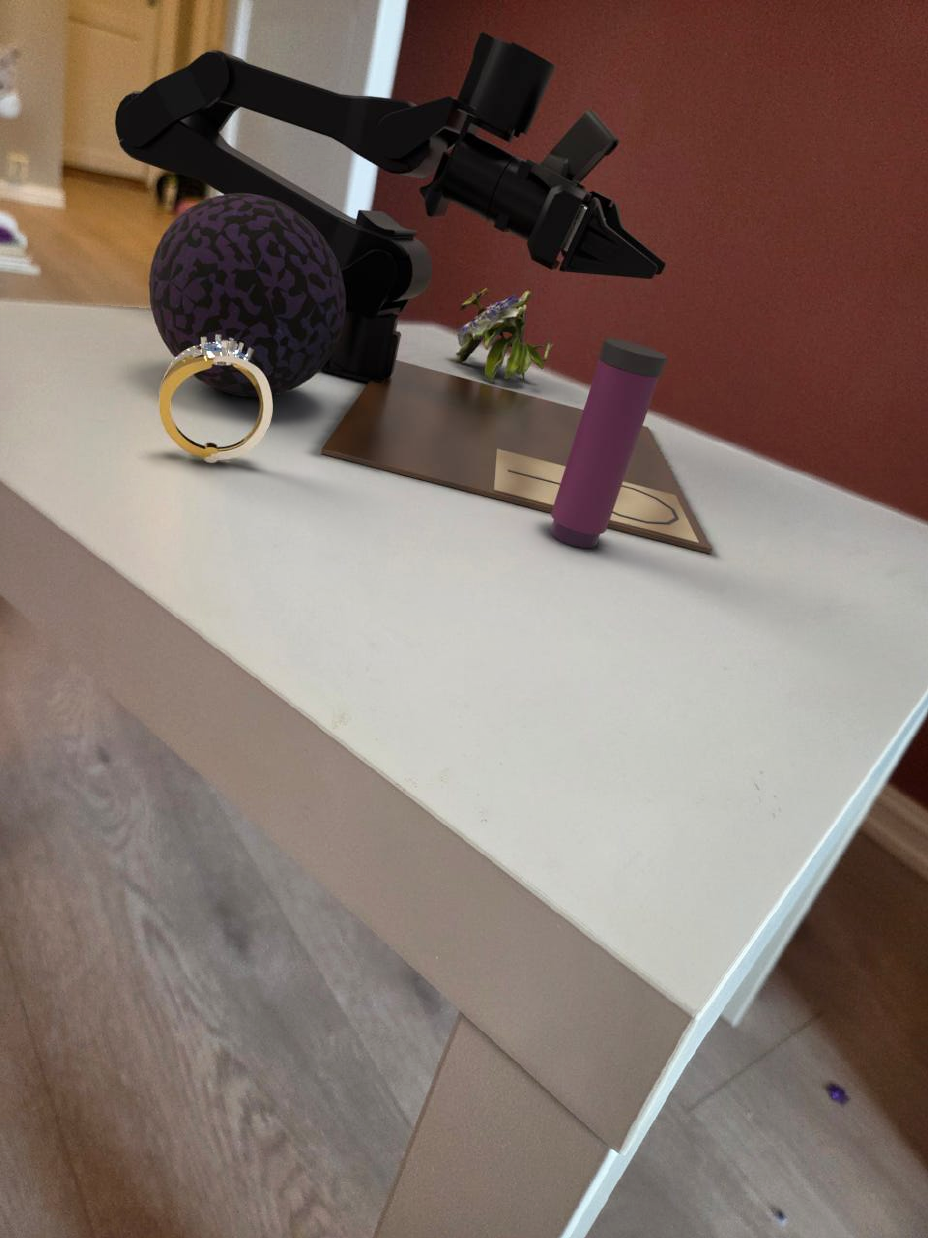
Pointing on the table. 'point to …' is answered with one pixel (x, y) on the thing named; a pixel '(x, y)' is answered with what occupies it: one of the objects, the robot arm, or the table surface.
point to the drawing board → (500, 449)
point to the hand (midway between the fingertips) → (659, 271)
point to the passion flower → (495, 323)
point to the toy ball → (249, 289)
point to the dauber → (605, 440)
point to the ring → (213, 354)
